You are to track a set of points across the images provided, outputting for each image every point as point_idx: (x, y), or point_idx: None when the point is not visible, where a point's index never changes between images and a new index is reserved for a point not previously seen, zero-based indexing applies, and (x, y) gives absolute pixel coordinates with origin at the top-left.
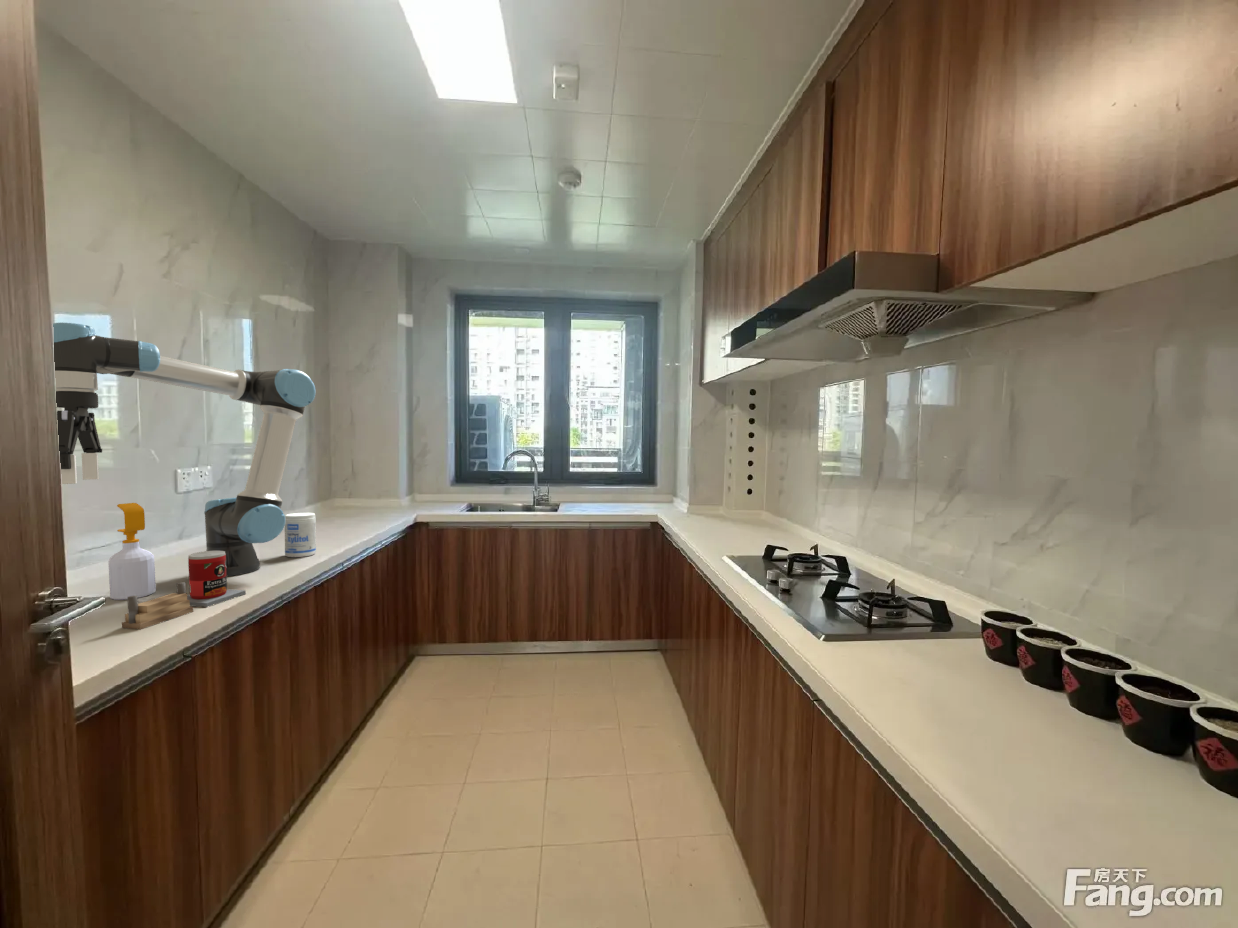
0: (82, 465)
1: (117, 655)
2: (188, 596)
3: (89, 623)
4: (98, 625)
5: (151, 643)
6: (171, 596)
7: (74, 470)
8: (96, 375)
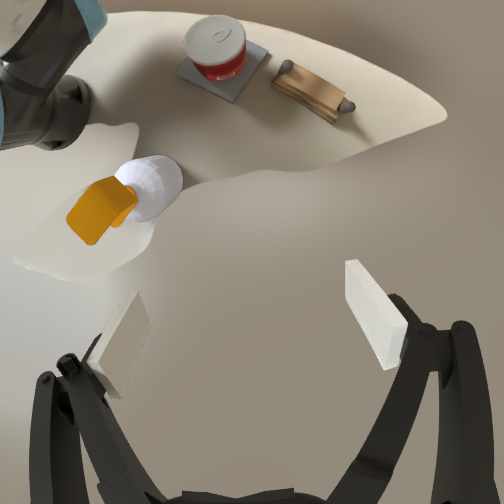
0: (137, 359)
1: (418, 104)
2: (217, 85)
3: (295, 169)
4: (309, 154)
5: (396, 81)
6: (302, 76)
7: (375, 284)
8: None
